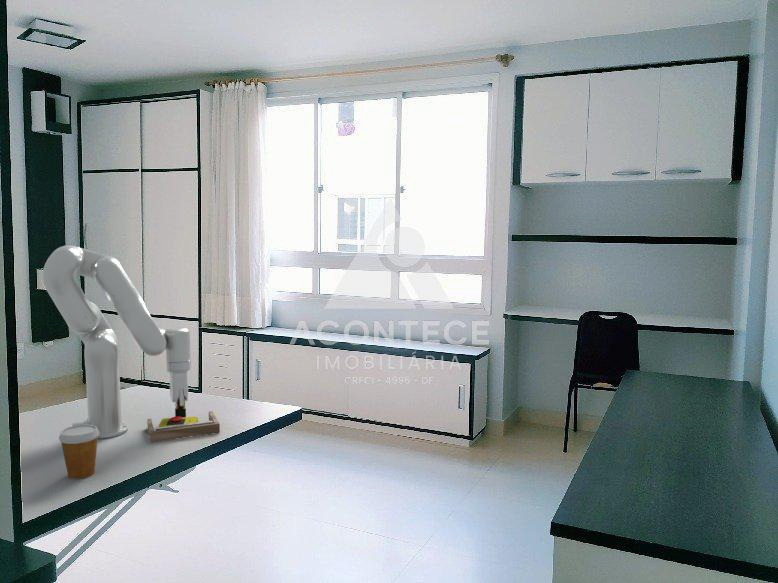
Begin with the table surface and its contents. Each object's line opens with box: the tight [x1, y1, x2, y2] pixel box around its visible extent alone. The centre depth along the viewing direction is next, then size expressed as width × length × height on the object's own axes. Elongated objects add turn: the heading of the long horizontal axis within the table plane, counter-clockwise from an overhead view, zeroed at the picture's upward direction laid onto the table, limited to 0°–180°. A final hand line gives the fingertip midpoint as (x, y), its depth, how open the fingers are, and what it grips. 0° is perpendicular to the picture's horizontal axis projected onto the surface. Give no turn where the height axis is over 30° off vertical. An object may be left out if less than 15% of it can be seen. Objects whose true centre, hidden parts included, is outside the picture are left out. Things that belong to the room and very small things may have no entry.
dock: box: [146, 411, 221, 443], centre depth 196 cm, size 14×20×3 cm
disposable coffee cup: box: [58, 425, 99, 480], centre depth 161 cm, size 10×10×12 cm
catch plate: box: [155, 420, 213, 431], centre depth 192 cm, size 1×17×3 cm, turn 115°
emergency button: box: [157, 416, 199, 427], centre depth 197 cm, size 9×4×15 cm
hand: (180, 419), depth 203 cm, fingers closed
